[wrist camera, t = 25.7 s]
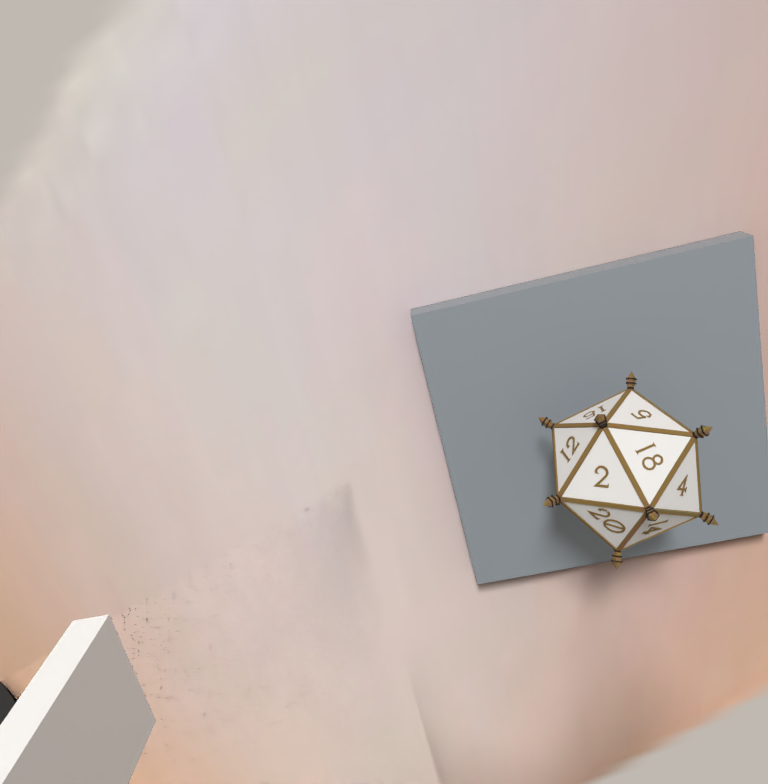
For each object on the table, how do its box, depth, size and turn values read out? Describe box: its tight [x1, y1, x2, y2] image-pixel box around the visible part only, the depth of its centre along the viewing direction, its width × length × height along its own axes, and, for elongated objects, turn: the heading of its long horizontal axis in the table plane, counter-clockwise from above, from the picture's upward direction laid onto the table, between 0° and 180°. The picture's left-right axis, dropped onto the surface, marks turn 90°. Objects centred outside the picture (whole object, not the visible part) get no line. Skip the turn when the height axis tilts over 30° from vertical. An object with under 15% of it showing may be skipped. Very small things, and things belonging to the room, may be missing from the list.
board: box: [411, 232, 768, 585], centre depth 40 cm, size 18×18×2 cm
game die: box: [538, 371, 718, 569], centre depth 35 cm, size 9×8×10 cm
